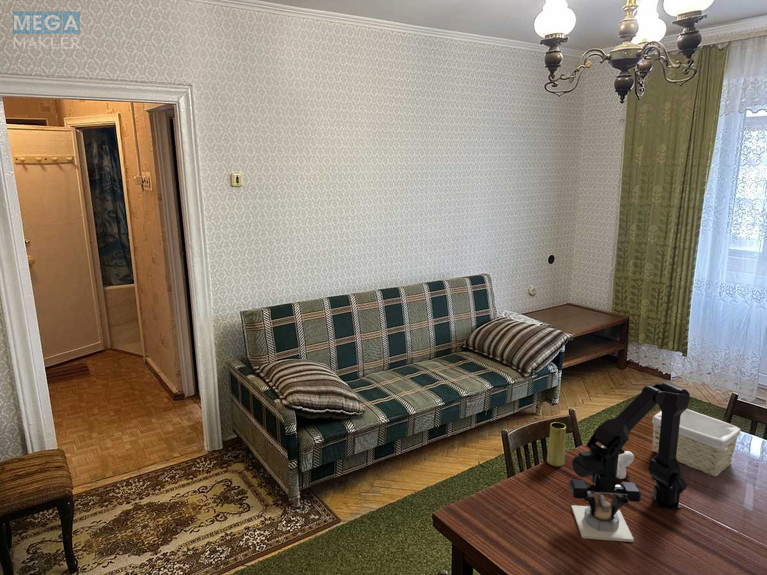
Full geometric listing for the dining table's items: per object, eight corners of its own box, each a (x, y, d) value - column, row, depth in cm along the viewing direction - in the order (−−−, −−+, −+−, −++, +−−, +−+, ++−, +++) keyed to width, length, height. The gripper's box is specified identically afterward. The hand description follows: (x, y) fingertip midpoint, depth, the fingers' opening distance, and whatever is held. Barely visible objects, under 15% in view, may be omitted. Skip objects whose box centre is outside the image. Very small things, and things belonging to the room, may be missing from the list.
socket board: (618, 510, 165) (619, 501, 164) (633, 541, 151) (634, 532, 150) (571, 507, 166) (572, 498, 166) (582, 538, 153) (582, 528, 152)
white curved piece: (586, 470, 186) (588, 447, 184) (605, 458, 193) (607, 436, 191) (618, 485, 177) (620, 461, 175) (636, 472, 185) (638, 448, 183)
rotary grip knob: (613, 527, 155) (615, 508, 154) (595, 526, 156) (597, 507, 154) (607, 513, 161) (608, 495, 160) (589, 512, 162) (591, 494, 160)
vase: (565, 467, 188) (568, 430, 185) (547, 465, 189) (549, 428, 186) (563, 458, 194) (566, 422, 190) (545, 456, 195) (548, 420, 192)
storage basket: (737, 464, 189) (743, 426, 185) (718, 481, 179) (724, 441, 176) (667, 438, 207) (672, 403, 204) (646, 452, 197) (651, 415, 194)
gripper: (630, 454, 161) (626, 500, 165) (566, 451, 163) (563, 497, 167) (644, 476, 150) (638, 524, 154) (575, 472, 152) (571, 520, 156)
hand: (601, 515), depth 158 cm, fingers closed on rotary grip knob, 5 cm apart
